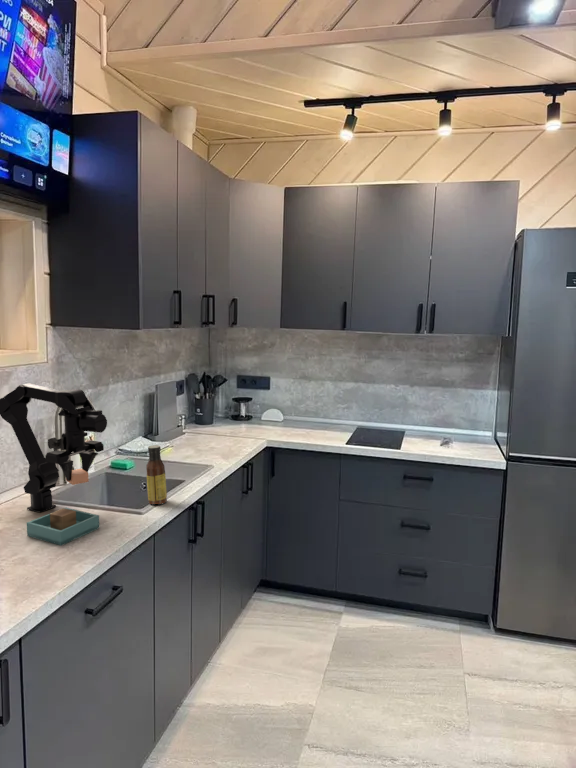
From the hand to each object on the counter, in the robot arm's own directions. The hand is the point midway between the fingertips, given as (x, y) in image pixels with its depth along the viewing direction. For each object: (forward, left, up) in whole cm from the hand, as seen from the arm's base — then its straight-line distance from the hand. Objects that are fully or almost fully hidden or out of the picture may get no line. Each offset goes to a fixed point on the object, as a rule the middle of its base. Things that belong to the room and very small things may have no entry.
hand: (76, 477), depth 171 cm
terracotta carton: (0, 0, -1) cm, 1 cm away
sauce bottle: (+15, +20, -12) cm, 28 cm away
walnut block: (+7, -12, -11) cm, 18 cm away
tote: (+7, -12, -12) cm, 19 cm away
